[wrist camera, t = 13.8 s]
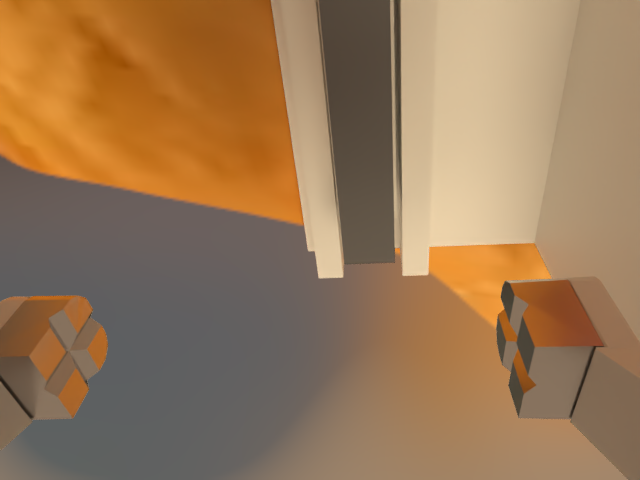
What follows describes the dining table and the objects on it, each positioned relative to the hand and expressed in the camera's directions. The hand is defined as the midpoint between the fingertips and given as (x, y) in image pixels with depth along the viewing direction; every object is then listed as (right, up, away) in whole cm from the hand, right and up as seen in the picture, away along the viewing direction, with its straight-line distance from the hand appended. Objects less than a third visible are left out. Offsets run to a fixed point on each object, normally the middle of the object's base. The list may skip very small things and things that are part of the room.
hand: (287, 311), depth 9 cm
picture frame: (+3, +11, +17) cm, 20 cm away
